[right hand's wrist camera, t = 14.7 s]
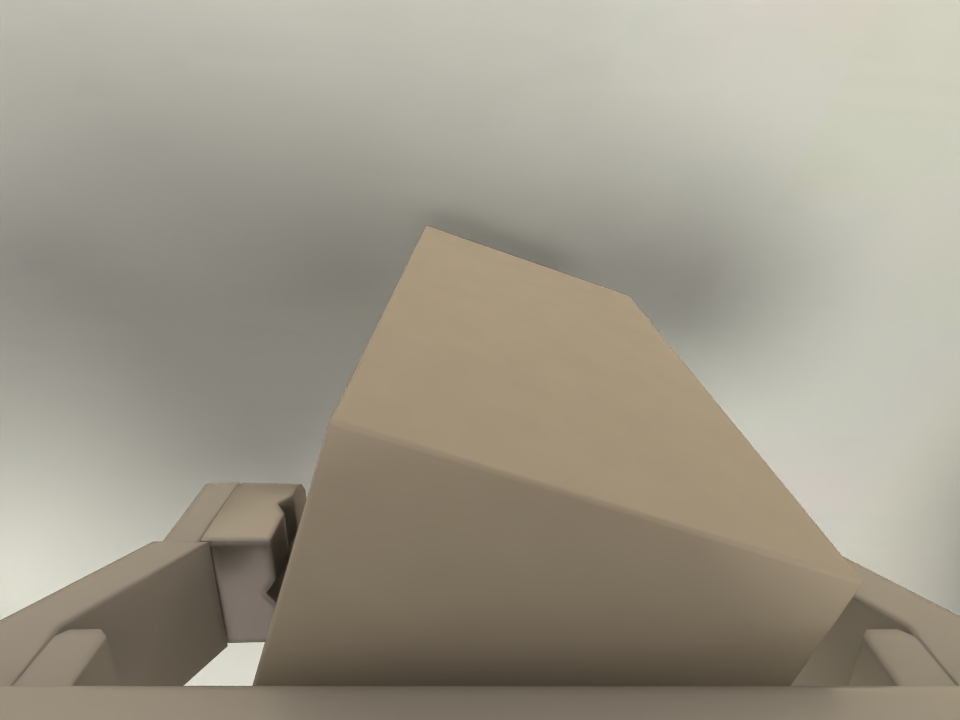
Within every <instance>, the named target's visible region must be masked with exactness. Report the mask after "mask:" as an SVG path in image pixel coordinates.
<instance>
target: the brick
mask: <svg viewBox="0 0 960 720" xmlns="http://www.w3.org/2000/svg"><path fill="white" fill-rule="evenodd" d="M861 584H862V580H861V578H860V577H859V576H858V575H857V574H856V572H855V571H854V570H853V569H852V567H851V566H850V565H849V564H848V563H847V561H846V560H845V559H844V558H843V556H842V555H841V554H840V553H839V552H838V550H837V549H836V548H835V547H834V545H833V544H832V543H831V542H830V541H829V539H828V538H827V537H826V536H825V534H824V533H823V532H822V531H821V530H820V528H819V527H818V526H817V525H816V523H815V522H814V521H813V520H812V519H811V517H810V516H809V515H808V514H807V512H806V511H805V510H804V509H803V508H802V506H801V505H800V504H799V503H798V501H797V500H796V499H795V498H794V497H793V495H792V494H791V493H790V492H789V490H788V489H787V488H786V487H785V486H784V484H783V483H782V482H781V481H780V479H779V478H778V477H777V476H776V475H775V473H774V472H773V471H772V470H771V468H770V467H769V466H768V465H767V464H766V462H765V461H764V460H763V459H762V457H761V456H760V455H759V454H758V453H757V451H756V450H755V449H754V448H753V446H752V445H751V444H750V443H749V442H748V440H747V439H746V438H745V437H744V435H743V434H742V433H741V432H740V431H739V429H738V428H737V427H736V426H735V424H734V423H733V422H732V421H731V420H730V418H729V417H728V416H727V415H726V413H725V412H724V411H723V410H722V409H721V407H720V406H719V405H718V404H717V402H716V401H715V400H714V399H713V398H712V396H711V395H710V394H709V393H708V391H707V390H706V389H705V388H704V387H703V385H702V384H701V383H700V382H699V380H698V379H697V378H696V377H695V376H694V374H693V373H692V372H691V371H690V369H689V368H688V367H687V366H686V365H685V363H684V362H683V361H682V360H681V358H680V357H679V356H678V355H677V354H676V352H675V351H674V350H673V349H672V347H671V346H670V345H669V344H668V343H667V341H666V340H665V339H664V338H663V336H662V335H661V334H660V333H659V332H658V330H657V329H656V328H655V327H654V325H653V324H652V323H651V322H650V321H649V319H648V318H647V317H646V316H645V314H644V313H643V312H642V311H641V310H640V308H639V307H638V306H637V305H636V303H635V302H634V301H633V300H632V299H631V297H630V296H628V295H625V294H622V293H619V292H617V291H614V290H611V289H608V288H605V287H602V286H599V285H596V284H594V283H591V282H588V281H585V280H582V279H579V278H576V277H573V276H570V275H568V274H565V273H562V272H559V271H556V270H553V269H550V268H547V267H544V266H542V265H539V264H536V263H533V262H530V261H527V260H524V259H521V258H518V257H516V256H513V255H510V254H507V253H504V252H501V251H498V250H495V249H493V248H490V247H487V246H484V245H481V244H478V243H475V242H472V241H469V240H467V239H464V238H461V237H458V236H455V235H452V234H449V233H446V232H443V231H441V230H438V229H435V228H432V227H429V226H426V227H425V229H424V231H423V233H422V235H421V237H420V239H419V241H418V243H417V245H416V247H415V249H414V251H413V253H412V255H411V257H410V259H409V261H408V263H407V265H406V267H405V269H404V271H403V273H402V275H401V277H400V279H399V281H398V283H397V285H396V287H395V289H394V291H393V294H392V296H391V298H390V300H389V302H388V304H387V306H386V308H385V310H384V312H383V314H382V316H381V318H380V320H379V322H378V324H377V326H376V328H375V330H374V332H373V334H372V336H371V338H370V340H369V342H368V344H367V346H366V348H365V350H364V352H363V354H362V356H361V358H360V360H359V363H358V365H357V367H356V369H355V371H354V373H353V375H352V377H351V379H350V381H349V383H348V385H347V387H346V389H345V391H344V393H343V395H342V397H341V399H340V401H339V403H338V405H337V407H336V409H335V411H334V413H333V415H332V417H331V419H330V421H329V425H328V428H327V431H326V435H325V438H324V442H323V445H322V449H321V452H320V455H319V459H318V462H317V466H316V469H315V473H314V476H313V479H312V483H311V486H310V490H309V493H308V497H307V500H306V504H305V507H304V510H303V514H302V517H301V521H300V524H299V528H298V531H297V534H296V538H295V541H294V545H293V548H292V552H291V555H290V559H289V562H288V565H287V569H286V572H285V576H284V579H283V583H282V586H281V589H280V593H279V596H278V600H277V603H276V607H275V610H274V613H273V617H272V620H271V624H270V627H269V631H268V634H267V638H266V641H265V644H264V648H263V651H262V655H261V658H260V662H259V665H258V668H257V672H256V675H255V679H254V682H253V686H791V685H792V683H793V682H794V680H795V679H796V677H797V676H798V675H799V673H800V672H801V670H802V669H803V667H804V666H805V665H806V663H807V662H808V660H809V659H810V657H811V656H812V655H813V653H814V652H815V650H816V649H817V647H818V646H819V645H820V643H821V642H822V640H823V639H824V637H825V636H826V635H827V633H828V632H829V630H830V629H831V627H832V626H833V625H834V623H835V622H836V620H837V619H838V617H839V616H840V615H841V613H842V612H843V610H844V609H845V607H846V606H847V605H848V603H849V602H850V600H851V599H852V597H853V596H854V595H855V593H856V592H857V590H858V589H859V587H860V586H861Z"/></svg>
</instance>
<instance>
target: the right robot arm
mask: <svg viewBox="0 0 960 720" xmlns="http://www.w3.org/2000/svg"><path fill="white" fill-rule="evenodd" d="M306 500H307V499H306V492H305V489H304V487H303V486H302V484H273V483H238V482H236V483H210V484H207V485H205V486H204V487H203V489H202V490H201V491H200V493H199V494H198V495H197V497H196V498H195V499H194V501H193V502H192V503H191V505H190V506H189V507H188V509H187V510H186V511H185V513H184V514H183V515H182V517H181V518H180V519H179V521H178V522H177V523H176V525H175V526H174V527H173V529H172V530H171V531H170V533H169V534H168V535H167V537H166V538H165V539H164V541H163V542H151V543H149V544H148V545H146V546H144V547H142V548H140V549H138V550H136V551H134V552H132V553H130V554H128V555H126V556H124V557H122V558H120V559H118V560H117V561H115V562H113V563H111V564H109V565H107V566H105V567H103V568H101V569H99V570H97V571H95V572H93V573H91V574H89V575H87V576H85V577H84V578H82V579H80V580H78V581H76V582H74V583H72V584H70V585H68V586H66V587H64V588H62V589H60V590H58V591H56V592H54V593H53V594H51V595H49V596H47V597H45V598H43V599H41V600H39V601H37V602H35V603H33V604H31V605H29V606H27V607H25V608H23V609H21V610H20V611H18V612H16V613H14V614H12V615H10V616H8V617H6V618H4V619H2V620H0V720H960V616H958V615H956V614H954V613H952V612H950V611H948V610H946V609H944V608H942V607H940V606H938V605H937V604H935V603H933V602H931V601H929V600H927V599H925V598H923V597H921V596H919V595H917V594H915V593H913V592H911V591H909V590H907V589H905V588H903V587H901V586H899V585H898V584H896V583H894V582H892V581H890V580H888V579H886V578H884V577H882V576H880V575H878V574H876V573H874V572H872V571H870V570H868V569H866V568H864V567H862V566H860V565H858V564H857V563H855V562H853V561H851V560H849V559H847V558H845V557H843V558H844V559H845V560H846V561H847V563H848V564H849V565H850V566H851V567H852V569H853V570H854V571H855V572H856V574H857V575H858V576H859V577H860V578H861V580H862V584H861V586H860V587H859V589H858V590H857V592H856V593H855V595H854V596H853V597H852V599H851V600H850V602H849V603H848V605H847V606H846V607H845V609H844V610H843V612H842V613H841V615H840V616H839V617H838V619H837V620H836V622H835V623H834V625H833V626H832V627H831V629H830V630H829V632H828V633H827V635H826V636H825V637H824V639H823V640H822V642H821V643H820V645H819V646H818V647H817V649H816V650H815V652H814V653H813V655H812V656H811V657H810V659H809V660H808V662H807V663H806V665H805V666H804V667H803V669H802V670H801V672H800V673H799V675H798V676H797V677H796V679H795V680H794V682H793V683H792V685H791V686H183V685H185V684H186V683H187V682H188V681H189V680H190V679H191V678H192V677H194V676H195V675H196V674H197V673H198V672H199V671H200V670H201V669H202V668H204V667H205V666H206V665H207V664H208V663H209V662H210V661H211V660H212V659H214V658H215V657H216V656H217V655H218V654H219V653H220V652H221V651H223V650H224V649H225V648H226V647H227V643H243V642H265V641H266V638H267V634H268V631H269V627H270V624H271V620H272V617H273V613H274V610H275V607H276V603H277V600H278V596H279V593H280V589H281V586H282V583H283V579H284V576H285V572H286V569H287V565H288V562H289V559H290V555H291V552H292V548H293V545H294V541H295V538H296V534H297V531H298V528H299V524H300V521H301V517H302V514H303V510H304V507H305V504H306Z"/></svg>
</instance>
